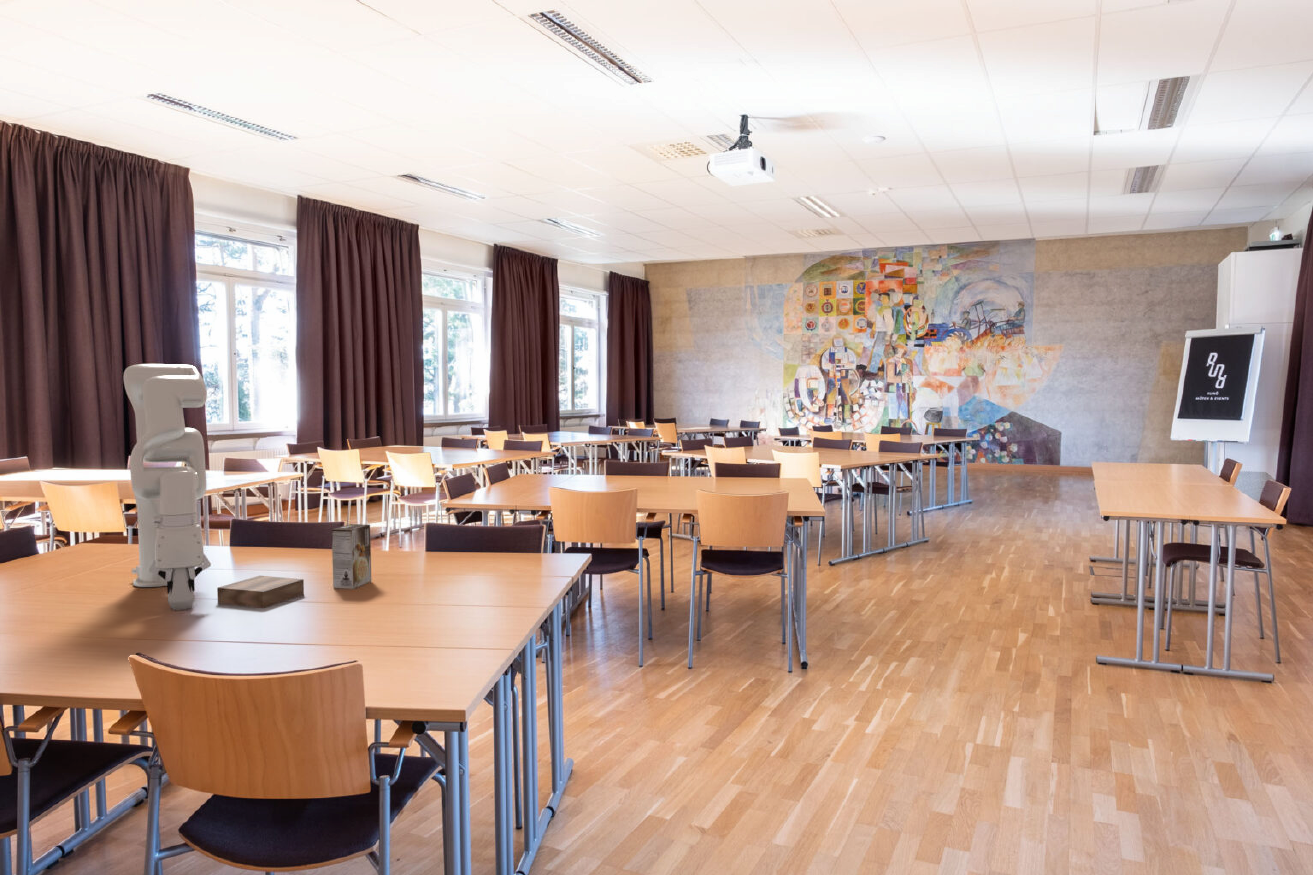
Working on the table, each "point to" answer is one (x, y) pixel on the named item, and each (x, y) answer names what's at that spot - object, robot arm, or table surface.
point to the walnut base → (260, 591)
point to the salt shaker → (180, 590)
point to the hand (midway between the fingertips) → (181, 594)
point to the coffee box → (351, 556)
